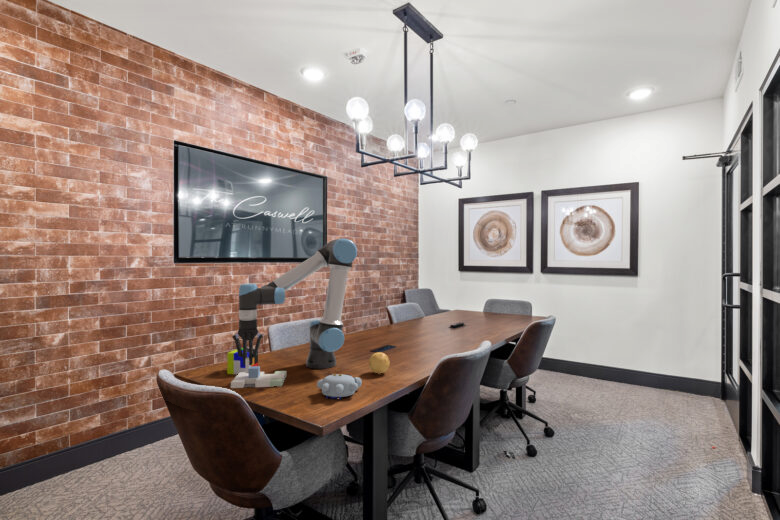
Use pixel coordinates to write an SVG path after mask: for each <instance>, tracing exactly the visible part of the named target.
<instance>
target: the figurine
mask: <svg viewBox="0 0 780 520" xmlns="http://www.w3.org/2000/svg"><path fill="white" fill-rule="evenodd" d="M362 384H363V382H362V378H360V377H359V376H358V377H357V376H355V377H353V376H352V375H350V374H345V373H344V374H342V373H339V374H337V373H333V374H330V375H326V376H325V377H324V378H322V379H319V380H318V381H317V382H316V387H317V388H318V389H321V393H322V395H324V396H326V397H325V399H327V398H328V397H330V398H329V399H334V398H335V400H337V398H339V400H341V399H342V398H343V397H344V398H345V397H350V396H353V395H354V394H355V392H356V391H358V390H359V389H358V388H360V387H361V386H362Z"/></svg>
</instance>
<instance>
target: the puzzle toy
mask: <svg viewBox="0 0 780 520" xmlns="http://www.w3.org/2000/svg"><path fill="white" fill-rule="evenodd" d="M241 349H242V353H243V347H241ZM254 350H255V348H253V353H254ZM226 354H227V355H226V357H227V358H226V359H227V364H226V365H227V369H226V372H227V373H226V374H227V375H237V374H239V373H240V372H245V370H246V365H243V358H242V357H239V355H238V351H237V348H236V349H234V350H231V351H229V352H227V353H226ZM247 357H249V347H247ZM251 366H259V352H258V353H257V355H256V356H255V357H253V364H252V365H250V367H251Z"/></svg>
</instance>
